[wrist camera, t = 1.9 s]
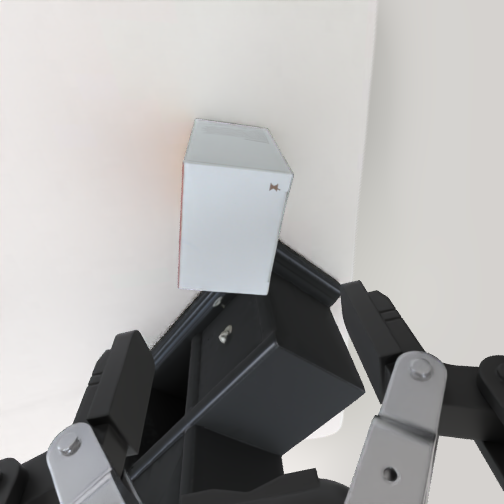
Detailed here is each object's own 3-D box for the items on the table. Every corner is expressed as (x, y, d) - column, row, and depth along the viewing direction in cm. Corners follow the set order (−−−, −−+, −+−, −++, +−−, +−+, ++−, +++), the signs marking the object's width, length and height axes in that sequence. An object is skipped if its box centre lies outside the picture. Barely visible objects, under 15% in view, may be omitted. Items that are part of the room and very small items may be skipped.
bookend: (257, 224, 30) (335, 588, 10) (341, 281, 34) (515, 621, 14) (127, 373, 38) (25, 733, 18) (206, 405, 42) (194, 727, 22)
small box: (195, 116, 25) (181, 156, 16) (269, 127, 26) (296, 171, 17) (188, 215, 29) (174, 292, 20) (253, 222, 30) (268, 298, 21)
